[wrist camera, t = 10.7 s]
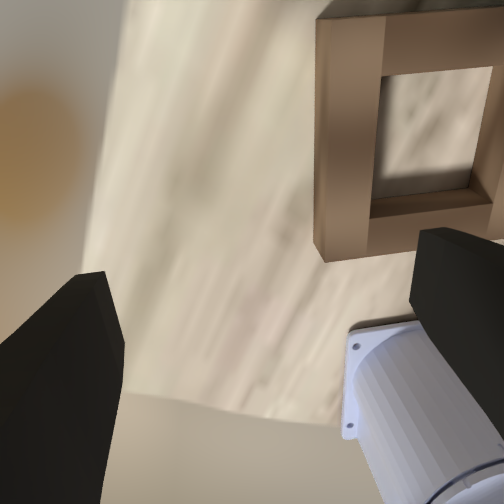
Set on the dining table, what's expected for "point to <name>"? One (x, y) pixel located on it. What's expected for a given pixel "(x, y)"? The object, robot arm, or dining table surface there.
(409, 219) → the socket block
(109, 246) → the dining table surface
